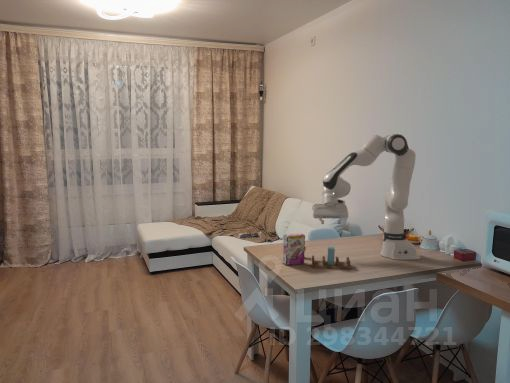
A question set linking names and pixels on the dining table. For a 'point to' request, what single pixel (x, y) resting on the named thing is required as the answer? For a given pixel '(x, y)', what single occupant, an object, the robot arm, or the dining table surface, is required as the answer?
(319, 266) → the rack
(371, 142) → the robot arm
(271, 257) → the dining table surface
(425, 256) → the dining table surface
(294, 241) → the candy bar box
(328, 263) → the teal rectangular block
